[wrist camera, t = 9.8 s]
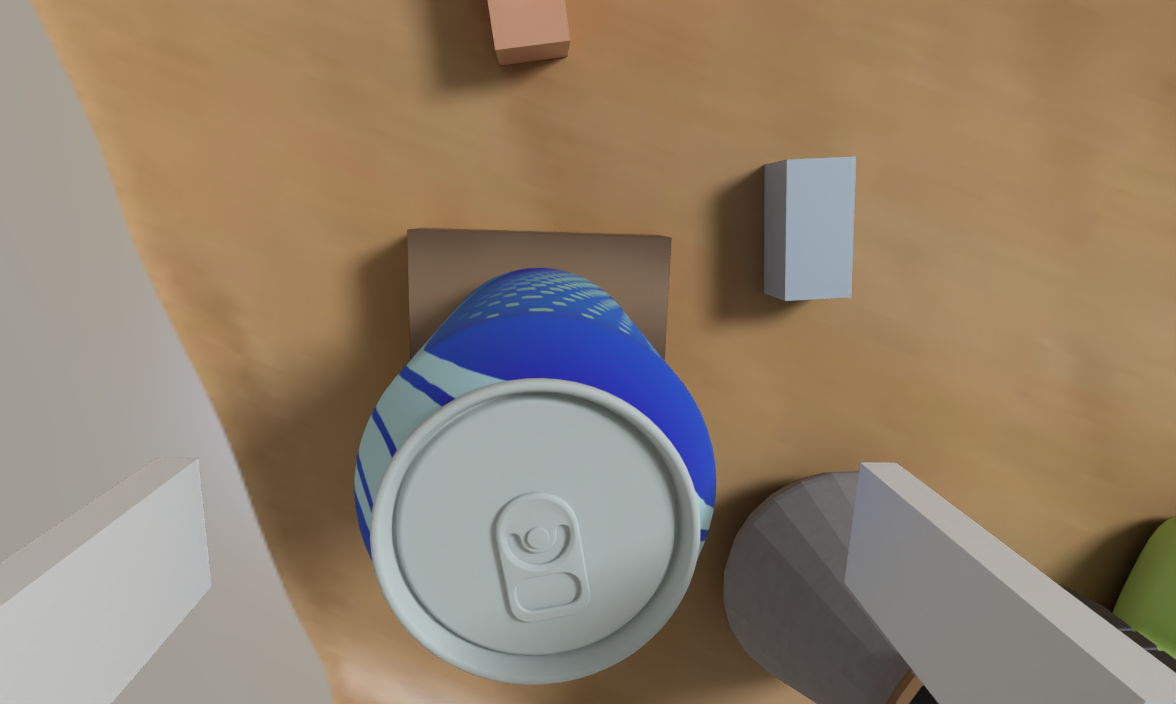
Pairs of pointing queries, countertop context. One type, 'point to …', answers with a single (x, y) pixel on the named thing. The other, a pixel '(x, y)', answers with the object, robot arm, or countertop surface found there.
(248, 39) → the countertop surface
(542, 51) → the terracotta brick
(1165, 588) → the teapot
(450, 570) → the beer can
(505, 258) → the walnut slab
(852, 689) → the coffee pot
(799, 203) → the greyblue brick
